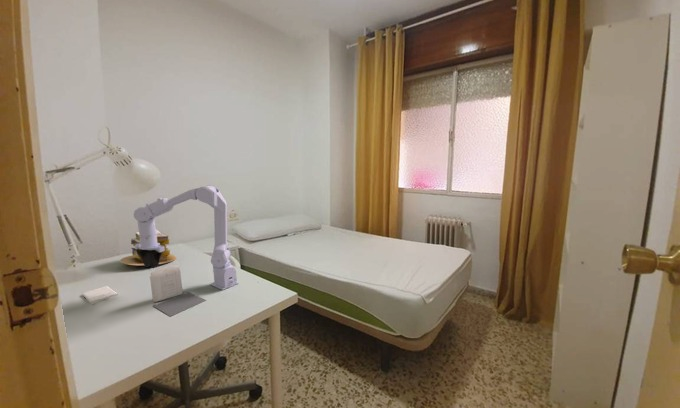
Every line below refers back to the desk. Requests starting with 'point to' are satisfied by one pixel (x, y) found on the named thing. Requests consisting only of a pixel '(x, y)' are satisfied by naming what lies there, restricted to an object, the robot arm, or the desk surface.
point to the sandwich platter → (135, 258)
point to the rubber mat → (179, 303)
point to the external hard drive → (99, 294)
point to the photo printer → (166, 283)
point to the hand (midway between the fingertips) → (151, 266)
